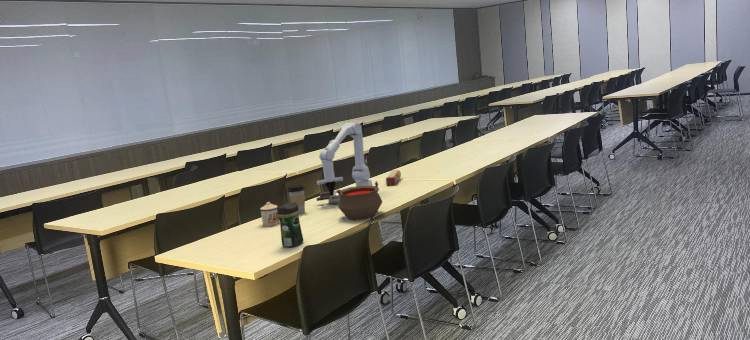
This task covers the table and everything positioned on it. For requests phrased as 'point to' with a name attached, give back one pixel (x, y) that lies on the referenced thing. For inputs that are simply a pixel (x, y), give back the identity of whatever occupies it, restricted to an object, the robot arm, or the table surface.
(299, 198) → the coffee cup
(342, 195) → the brown cauldron
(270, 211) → the teacup with lid
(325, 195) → the lid
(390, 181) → the snack package
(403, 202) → the table surface
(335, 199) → the pot
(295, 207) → the coffee jar
